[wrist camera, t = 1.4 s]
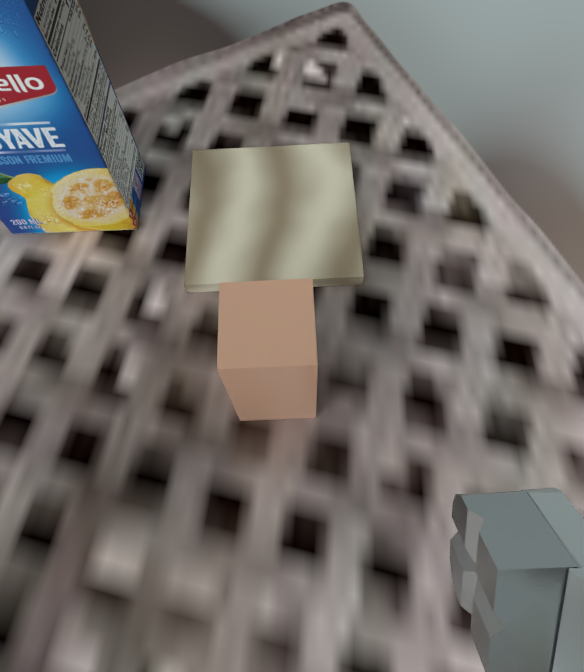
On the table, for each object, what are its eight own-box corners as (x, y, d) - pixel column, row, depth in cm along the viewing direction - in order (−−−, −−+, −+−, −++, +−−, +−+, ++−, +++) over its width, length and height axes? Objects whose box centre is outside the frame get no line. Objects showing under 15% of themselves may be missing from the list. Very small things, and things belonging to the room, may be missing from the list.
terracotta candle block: (240, 420, 37) (216, 369, 28) (240, 351, 39) (219, 282, 30) (315, 417, 36) (317, 364, 27) (311, 348, 39) (312, 278, 30)
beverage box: (138, 229, 44) (-4, -58, 24) (11, 234, 44) (-233, -47, 24) (146, 168, 47) (25, -133, 27) (27, 173, 47) (-180, -123, 27)
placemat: (187, 292, 41) (184, 285, 40) (195, 160, 47) (192, 150, 46) (362, 284, 41) (363, 276, 40) (348, 152, 47) (349, 142, 46)
